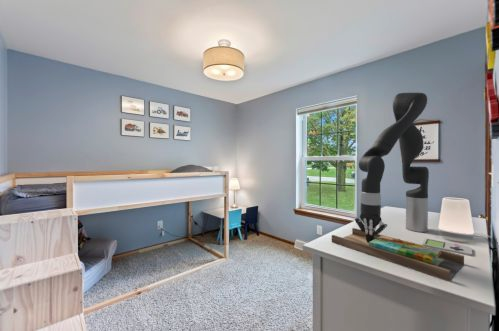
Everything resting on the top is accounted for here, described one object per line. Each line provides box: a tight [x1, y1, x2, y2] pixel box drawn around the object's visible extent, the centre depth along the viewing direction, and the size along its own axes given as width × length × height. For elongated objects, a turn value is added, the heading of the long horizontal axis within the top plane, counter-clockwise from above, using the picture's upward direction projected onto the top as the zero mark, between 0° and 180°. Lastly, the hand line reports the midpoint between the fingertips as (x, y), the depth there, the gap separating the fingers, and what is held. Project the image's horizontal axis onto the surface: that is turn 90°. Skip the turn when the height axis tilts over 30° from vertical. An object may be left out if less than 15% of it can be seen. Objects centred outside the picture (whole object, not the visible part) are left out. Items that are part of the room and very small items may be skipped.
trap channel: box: [331, 227, 465, 282], centre depth 87 cm, size 18×40×3 cm, turn 35°
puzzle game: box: [369, 235, 441, 263], centre depth 83 cm, size 12×5×20 cm
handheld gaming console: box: [421, 237, 473, 257], centre depth 92 cm, size 10×2×15 cm
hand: (370, 242), depth 93 cm, fingers closed
